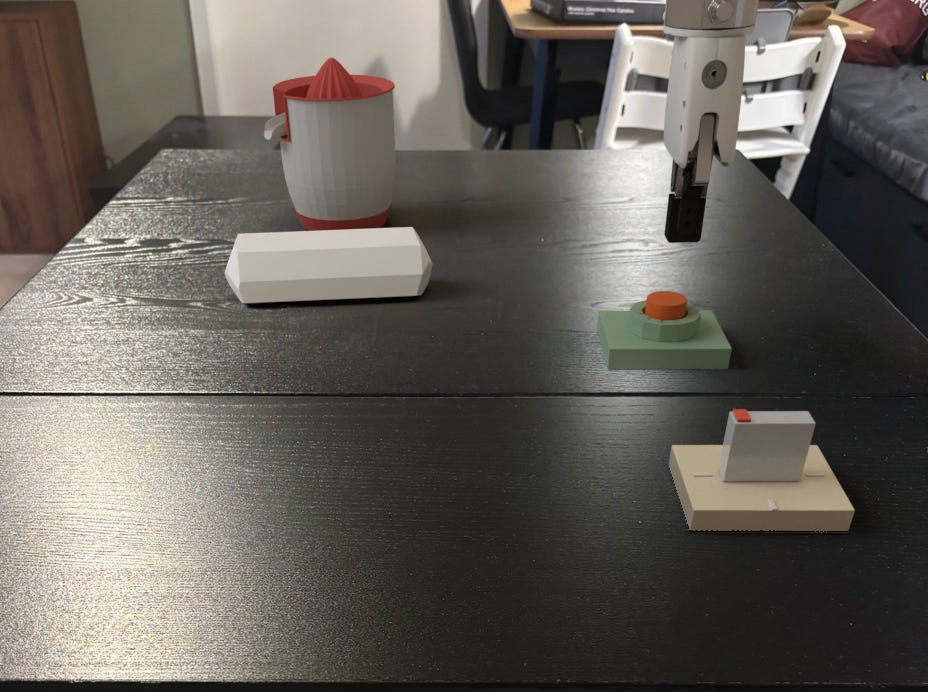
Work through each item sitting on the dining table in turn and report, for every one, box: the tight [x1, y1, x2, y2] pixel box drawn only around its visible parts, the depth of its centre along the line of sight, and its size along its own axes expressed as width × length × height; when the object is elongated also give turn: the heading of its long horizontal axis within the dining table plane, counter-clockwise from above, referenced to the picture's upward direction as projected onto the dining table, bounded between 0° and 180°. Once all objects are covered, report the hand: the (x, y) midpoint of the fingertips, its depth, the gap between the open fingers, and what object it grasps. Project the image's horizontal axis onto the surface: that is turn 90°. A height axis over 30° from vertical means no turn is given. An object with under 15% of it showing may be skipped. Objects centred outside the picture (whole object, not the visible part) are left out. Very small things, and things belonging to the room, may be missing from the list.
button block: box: [596, 299, 733, 371], centre depth 96 cm, size 12×10×4 cm
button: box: [645, 290, 688, 320], centre depth 94 cm, size 4×4×2 cm
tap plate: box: [668, 444, 856, 533], centre depth 74 cm, size 12×10×2 cm
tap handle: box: [718, 408, 817, 482], centre depth 72 cm, size 6×2×5 cm, turn 89°
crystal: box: [224, 226, 434, 304], centre depth 108 cm, size 7×7×24 cm
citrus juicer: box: [263, 57, 397, 231], centre depth 123 cm, size 16×17×20 cm
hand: (682, 239), depth 90 cm, fingers closed
